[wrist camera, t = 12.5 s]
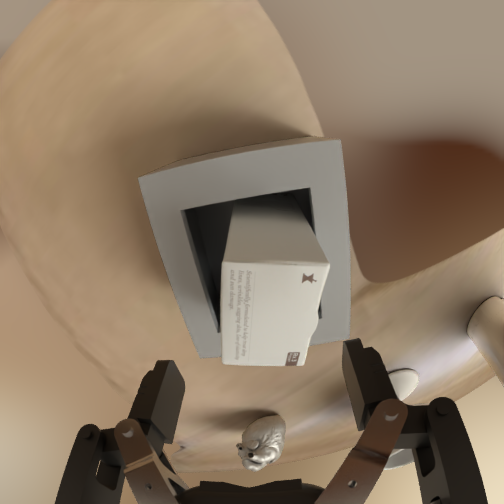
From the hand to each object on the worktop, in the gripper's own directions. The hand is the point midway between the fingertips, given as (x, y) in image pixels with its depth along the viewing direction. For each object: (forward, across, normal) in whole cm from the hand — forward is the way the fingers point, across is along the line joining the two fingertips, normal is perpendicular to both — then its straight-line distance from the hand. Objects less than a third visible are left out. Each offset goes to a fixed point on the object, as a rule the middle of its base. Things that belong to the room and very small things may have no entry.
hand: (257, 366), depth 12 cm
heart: (+20, +5, +38) cm, 43 cm away
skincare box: (+19, 0, 0) cm, 19 cm away
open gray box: (+19, 0, 0) cm, 19 cm away
